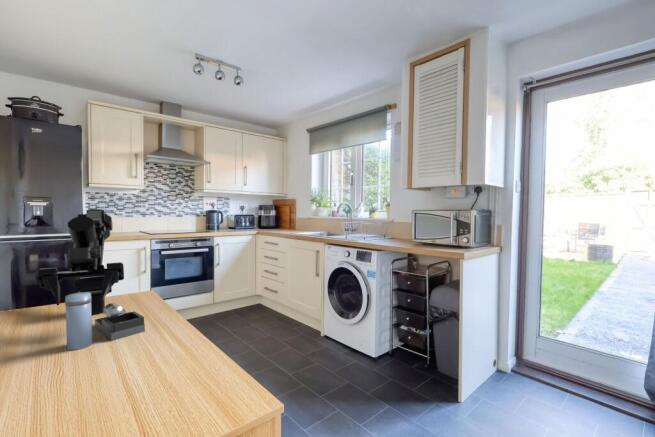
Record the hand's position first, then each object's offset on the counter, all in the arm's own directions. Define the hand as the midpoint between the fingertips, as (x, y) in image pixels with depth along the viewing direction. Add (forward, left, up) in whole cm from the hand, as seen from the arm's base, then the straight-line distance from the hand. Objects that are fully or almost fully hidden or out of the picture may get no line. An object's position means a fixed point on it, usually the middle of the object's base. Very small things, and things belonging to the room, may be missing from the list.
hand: (80, 301), depth 80 cm
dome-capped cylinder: (+3, -1, -10) cm, 11 cm away
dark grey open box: (-1, +9, -10) cm, 14 cm away
